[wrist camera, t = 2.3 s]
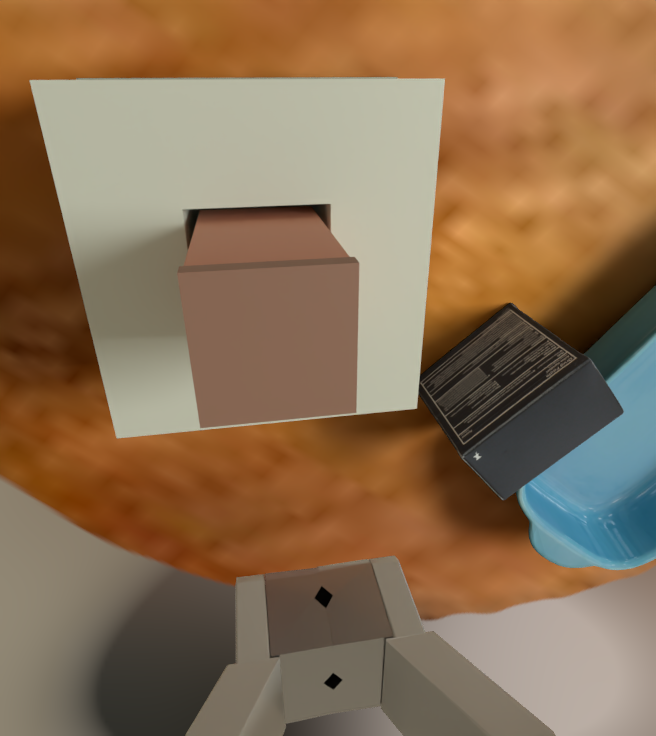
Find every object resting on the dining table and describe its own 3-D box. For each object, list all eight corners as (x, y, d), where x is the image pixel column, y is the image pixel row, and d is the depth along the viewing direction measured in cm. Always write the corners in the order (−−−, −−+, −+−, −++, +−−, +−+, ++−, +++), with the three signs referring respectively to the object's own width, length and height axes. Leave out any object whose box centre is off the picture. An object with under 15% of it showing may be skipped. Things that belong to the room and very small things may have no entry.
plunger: (197, 208, 27) (177, 272, 17) (312, 203, 28) (359, 262, 18) (211, 316, 30) (200, 428, 20) (315, 309, 31) (356, 412, 21)
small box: (449, 426, 46) (504, 507, 37) (408, 382, 43) (456, 458, 34) (547, 350, 44) (630, 416, 35) (510, 299, 41) (590, 355, 32)
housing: (80, 78, 30) (16, 68, 21) (393, 77, 32) (453, 68, 24) (138, 366, 38) (110, 444, 30) (381, 347, 41) (422, 413, 32)
